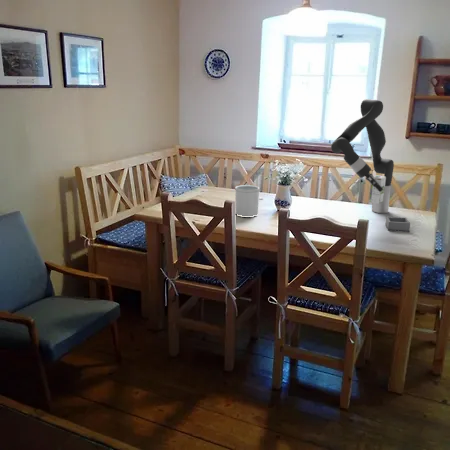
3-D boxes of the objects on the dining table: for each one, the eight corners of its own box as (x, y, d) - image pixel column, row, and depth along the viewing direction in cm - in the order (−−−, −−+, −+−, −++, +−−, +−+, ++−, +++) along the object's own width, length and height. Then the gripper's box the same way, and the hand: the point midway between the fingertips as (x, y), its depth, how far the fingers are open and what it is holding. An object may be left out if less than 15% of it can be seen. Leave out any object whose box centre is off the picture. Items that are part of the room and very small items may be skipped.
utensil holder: (252, 211, 300) (252, 184, 295) (263, 216, 286) (263, 188, 282) (231, 213, 294) (231, 186, 289) (241, 219, 281) (241, 190, 276)
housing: (387, 230, 257) (388, 222, 256) (385, 225, 268) (386, 216, 266) (409, 231, 256) (410, 222, 254) (405, 226, 266) (406, 217, 264)
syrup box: (373, 200, 264) (375, 174, 260) (383, 201, 260) (386, 176, 256) (369, 202, 260) (371, 176, 255) (379, 203, 256) (382, 177, 252)
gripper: (366, 164, 248) (387, 187, 250) (364, 160, 262) (384, 181, 263) (355, 174, 251) (376, 196, 252) (354, 169, 264) (373, 190, 266)
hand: (380, 188), depth 258 cm, fingers closed on syrup box, 7 cm apart
